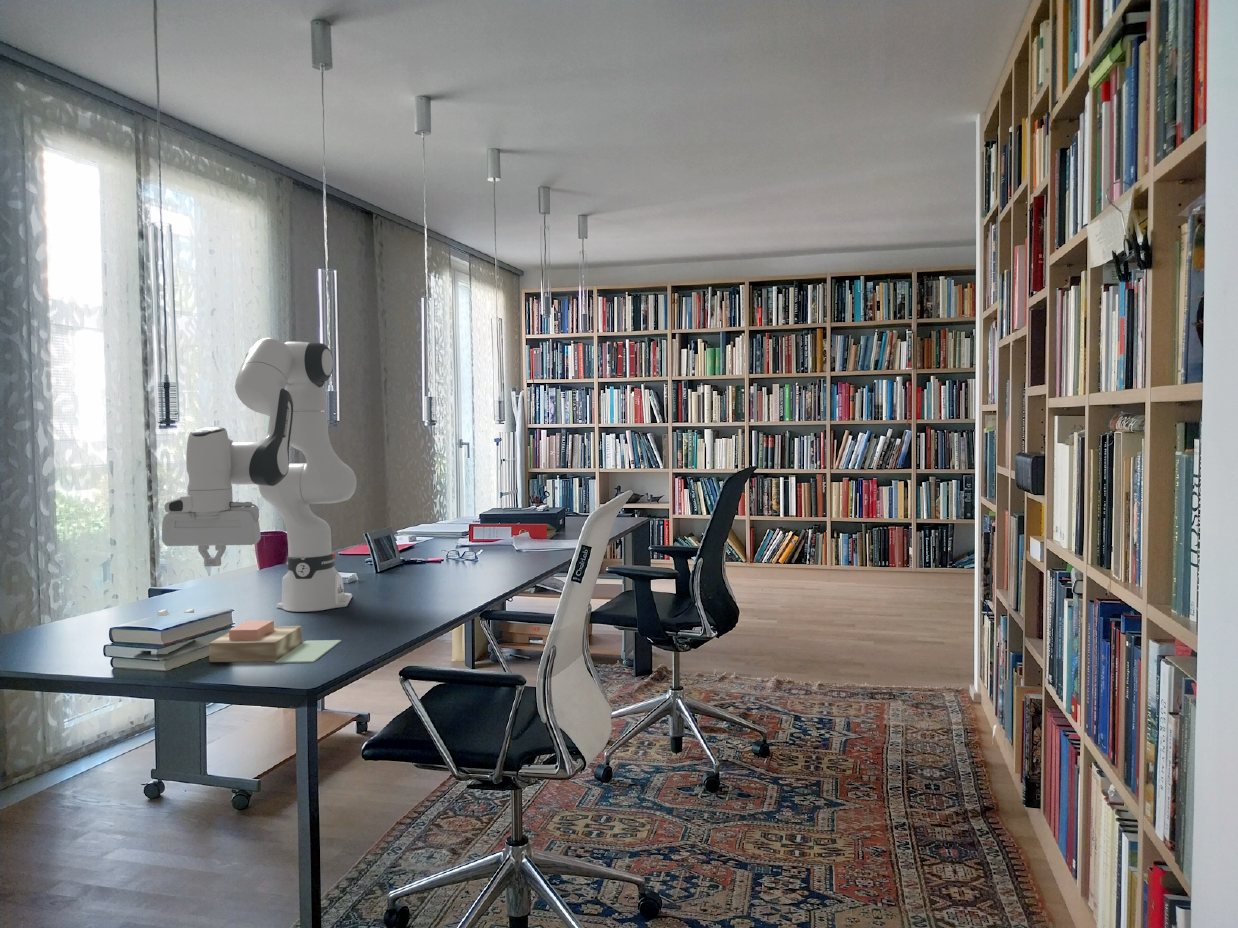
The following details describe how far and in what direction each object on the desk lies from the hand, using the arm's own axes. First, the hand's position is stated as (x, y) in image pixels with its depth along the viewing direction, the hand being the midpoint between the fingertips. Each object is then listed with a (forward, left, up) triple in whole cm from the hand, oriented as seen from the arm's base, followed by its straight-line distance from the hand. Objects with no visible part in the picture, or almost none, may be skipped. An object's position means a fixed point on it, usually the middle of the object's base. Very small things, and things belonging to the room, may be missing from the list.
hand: (212, 566), depth 196 cm
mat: (0, +20, -19) cm, 28 cm away
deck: (0, +9, -19) cm, 21 cm away
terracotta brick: (0, +8, -15) cm, 17 cm away
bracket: (-6, -14, -20) cm, 25 cm away
